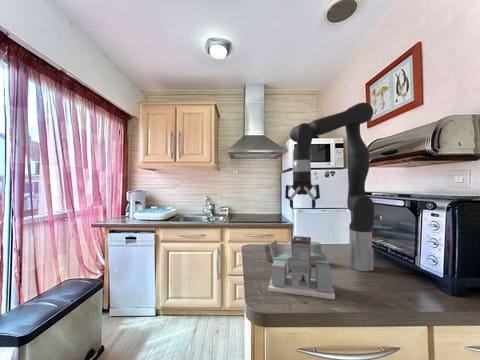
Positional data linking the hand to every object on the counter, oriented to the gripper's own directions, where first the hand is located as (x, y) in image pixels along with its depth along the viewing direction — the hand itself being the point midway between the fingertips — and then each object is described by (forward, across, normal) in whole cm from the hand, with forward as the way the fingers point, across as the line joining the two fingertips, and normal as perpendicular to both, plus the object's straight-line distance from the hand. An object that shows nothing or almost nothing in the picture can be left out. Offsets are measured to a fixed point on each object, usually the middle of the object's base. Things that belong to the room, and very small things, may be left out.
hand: (302, 208), depth 101 cm
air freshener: (+28, -5, -14) cm, 32 cm away
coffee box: (+26, +1, +14) cm, 30 cm away
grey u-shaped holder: (+27, +2, +15) cm, 31 cm away
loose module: (+27, +7, -4) cm, 29 cm away
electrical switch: (+27, +15, -15) cm, 34 cm away
